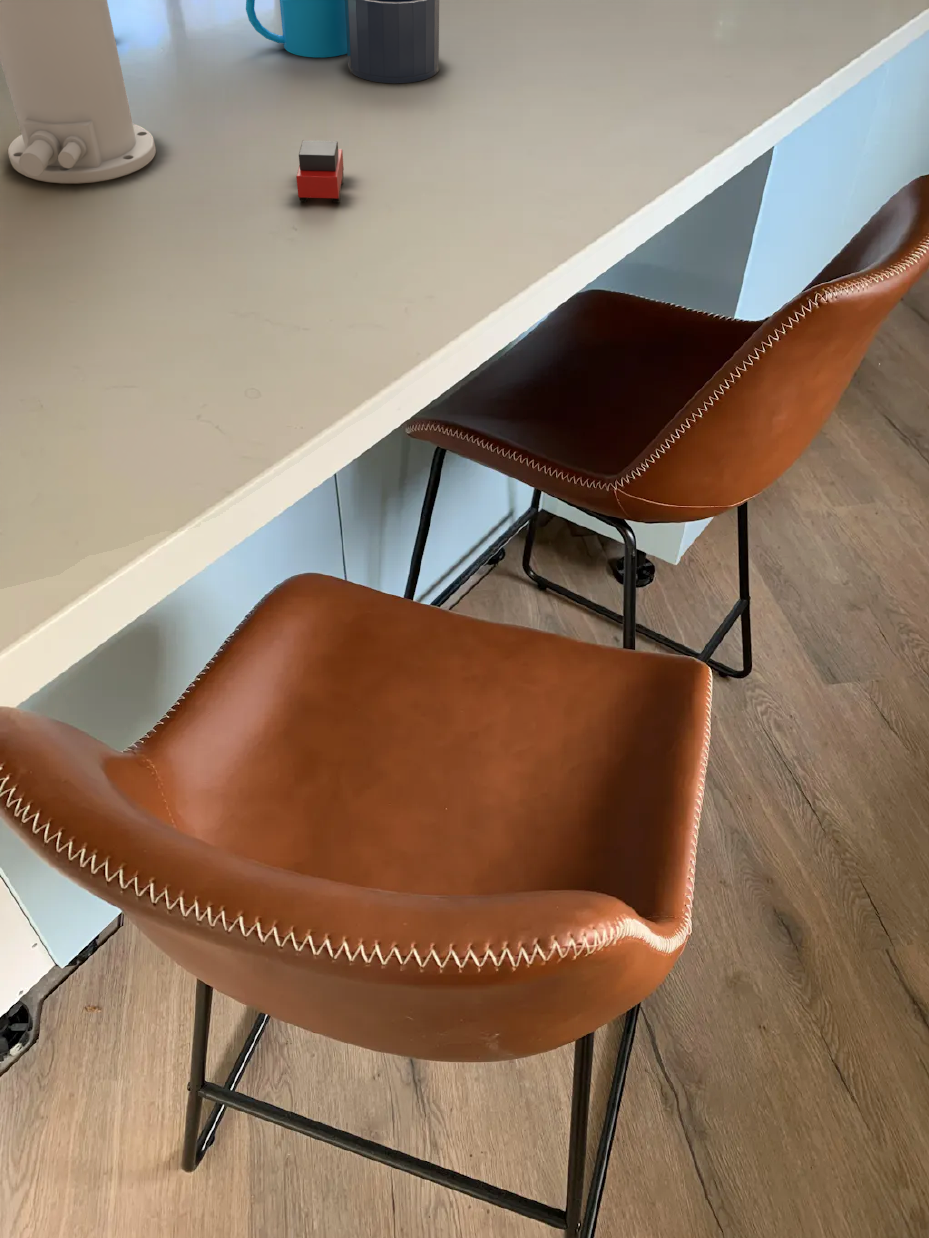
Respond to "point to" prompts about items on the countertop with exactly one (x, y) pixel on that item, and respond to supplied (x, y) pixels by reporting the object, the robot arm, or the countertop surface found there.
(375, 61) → the cup
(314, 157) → the car
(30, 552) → the countertop surface
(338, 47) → the mug
